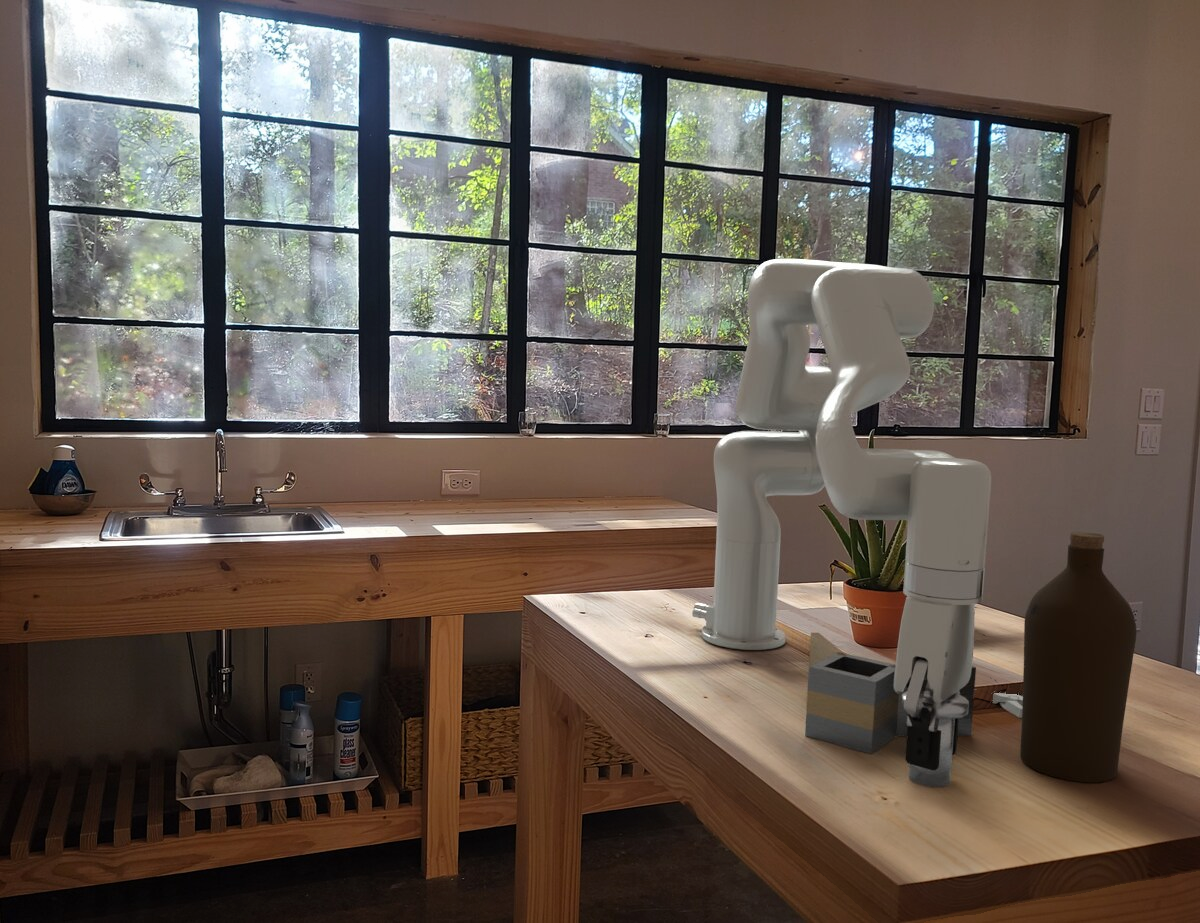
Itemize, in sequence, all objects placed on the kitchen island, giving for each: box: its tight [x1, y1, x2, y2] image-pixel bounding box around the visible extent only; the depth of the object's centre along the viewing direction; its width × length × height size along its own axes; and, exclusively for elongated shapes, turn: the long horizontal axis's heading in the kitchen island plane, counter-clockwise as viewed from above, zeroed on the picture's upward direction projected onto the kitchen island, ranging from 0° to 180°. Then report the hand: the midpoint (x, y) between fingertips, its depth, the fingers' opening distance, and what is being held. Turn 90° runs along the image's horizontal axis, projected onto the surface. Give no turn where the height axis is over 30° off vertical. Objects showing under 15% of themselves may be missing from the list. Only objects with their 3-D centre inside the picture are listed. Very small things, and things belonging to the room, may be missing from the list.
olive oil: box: [1019, 531, 1137, 783], centre depth 105 cm, size 11×11×25 cm
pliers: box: [991, 692, 1023, 719], centre depth 128 cm, size 10×2×15 cm
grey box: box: [804, 632, 977, 755], centre depth 115 cm, size 20×14×8 cm
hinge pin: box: [901, 691, 969, 788], centre depth 101 cm, size 6×6×8 cm
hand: (930, 756), depth 101 cm, fingers closed on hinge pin, 4 cm apart
